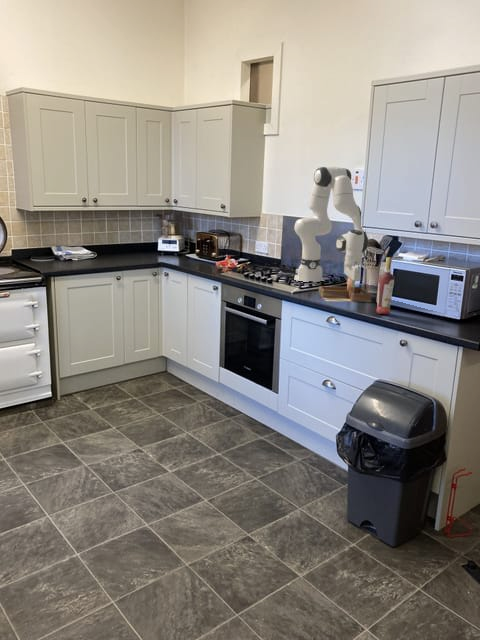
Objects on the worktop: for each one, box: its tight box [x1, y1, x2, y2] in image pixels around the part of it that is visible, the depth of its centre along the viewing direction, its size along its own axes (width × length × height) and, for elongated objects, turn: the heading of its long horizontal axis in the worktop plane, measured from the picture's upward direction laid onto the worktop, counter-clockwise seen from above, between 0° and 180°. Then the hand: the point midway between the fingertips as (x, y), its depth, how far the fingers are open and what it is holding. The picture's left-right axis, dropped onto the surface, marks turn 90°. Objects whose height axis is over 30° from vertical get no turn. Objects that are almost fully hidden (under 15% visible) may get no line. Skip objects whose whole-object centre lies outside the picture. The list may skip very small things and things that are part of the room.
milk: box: [375, 261, 386, 304], centre depth 283 cm, size 6×6×22 cm
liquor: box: [375, 256, 396, 315], centre depth 261 cm, size 7×7×28 cm
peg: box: [346, 277, 356, 293], centre depth 293 cm, size 4×4×8 cm
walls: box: [318, 285, 372, 303], centre depth 291 cm, size 17×24×4 cm
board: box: [321, 296, 373, 303], centre depth 292 cm, size 17×25×1 cm
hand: (351, 285), depth 293 cm, fingers closed on peg, 4 cm apart
